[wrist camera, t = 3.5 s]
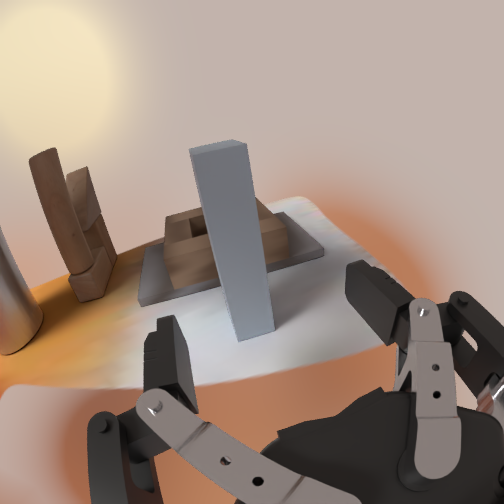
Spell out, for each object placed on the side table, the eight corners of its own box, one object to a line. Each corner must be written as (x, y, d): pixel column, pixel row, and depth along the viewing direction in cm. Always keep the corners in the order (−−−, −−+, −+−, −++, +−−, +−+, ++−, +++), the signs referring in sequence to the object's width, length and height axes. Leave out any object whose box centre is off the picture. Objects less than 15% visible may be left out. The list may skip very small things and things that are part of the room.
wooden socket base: (141, 306, 26) (124, 270, 24) (147, 254, 36) (137, 224, 34) (323, 255, 29) (322, 217, 27) (283, 218, 39) (280, 188, 37)
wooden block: (118, 256, 37) (81, 139, 29) (104, 298, 28) (47, 148, 19) (97, 262, 37) (59, 149, 28) (79, 304, 28) (21, 161, 19)
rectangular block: (238, 341, 20) (192, 155, 14) (228, 310, 24) (188, 149, 17) (275, 330, 21) (246, 143, 14) (260, 301, 24) (232, 139, 18)
